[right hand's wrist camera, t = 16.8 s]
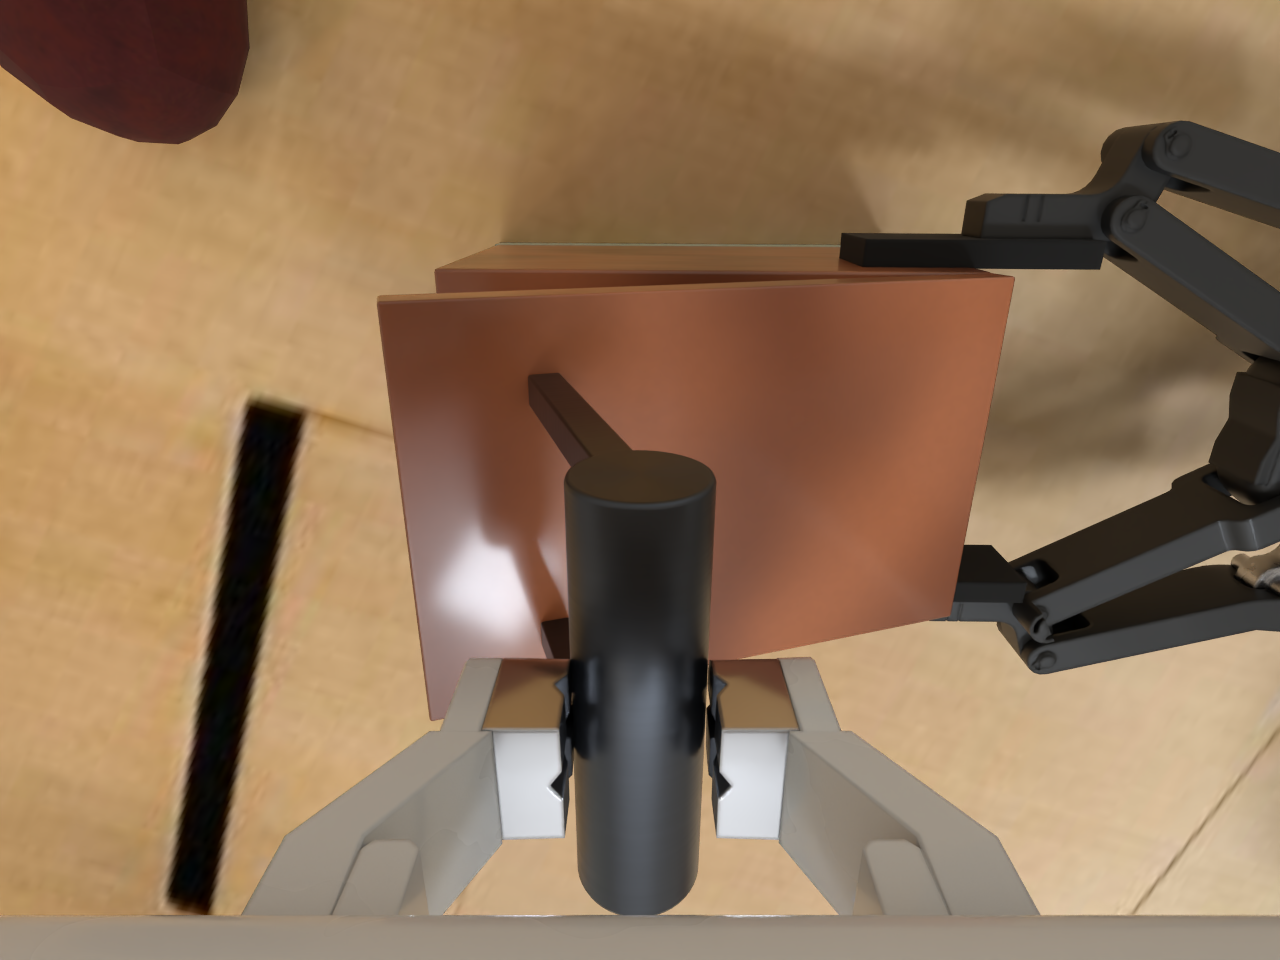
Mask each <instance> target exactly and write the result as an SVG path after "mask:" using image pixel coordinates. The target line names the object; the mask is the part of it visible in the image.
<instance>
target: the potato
mask: <svg viewBox="0 0 1280 960" xmlns="http://www.w3.org/2000/svg"><path fill="white" fill-rule="evenodd" d="M248 51H249V33H248V16H247V0H0V65H1V67H2V68H4V69H5V70H6V71H8V72H9V73H10V74H12V75H13V76H14V77H16V78H17V79H18V80H20V81H21V82H22V83H24V84H25V85H26V86H28V87H29V88H30V89H32V90H33V91H34V92H36V93H37V94H38V95H40V96H41V97H42V98H43V99H45V100H46V101H47V102H49V103H50V104H52V105H53V106H54V107H56V108H57V109H59V110H60V111H62V112H63V113H65V114H66V115H68V116H69V117H70V118H72V119H75V120H78V121H80V122H83V123H85V124H88V125H91V126H93V127H96V128H98V129H101V130H104V131H106V132H109V133H111V134H114V135H117V136H119V137H123V138H127V139H130V140H134V141H137V142H149V143H167V144H180V143H183V142H186V141H189V140H191V139H192V138H194V137H196V136H198V135H200V134H202V133H204V132H205V131H207V130H209V129H211V128H213V127H215V126H216V125H217V124H218V123H219V121H220V120H221V118H222V117H223V115H224V114H225V112H226V111H227V109H228V108H229V106H230V105H231V103H232V102H233V100H234V99H235V97H236V96H237V94H238V91H239V87H240V83H241V79H242V75H243V71H244V67H245V63H246V59H247V55H248Z"/></svg>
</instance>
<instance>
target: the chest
mask: <svg viewBox="0 0 1280 960" xmlns="http://www.w3.org/2000/svg"><path fill="white" fill-rule="evenodd" d="M839 254H840V245H780V244H623V243H498V244H496V245H495V246H494V247H491V248H489V249H486V250H483V251H481V252H478V253H476V254H473V255H471V256H468V257H466V258H463V259H460V260H458V261H455V262H453V263H450V264H448V265H445V266H442V267H440V268H437V269H435V272H434V273H435V283H436V293H463V292H491V291H518V290H545V289H572V288H599V287H626V286H653V285H680V284H707V283H734V282H761V281H788V280H816V279H843V278H870V277H897V276H924V275H951V274H978V273H990V272H987V271H983V270H979V269H975V268H903V267H861V266H858V265H856V264H853V263H850V262H848V261H845V260H843V259H840V258H839Z"/></svg>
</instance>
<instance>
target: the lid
mask: <svg viewBox="0 0 1280 960" xmlns="http://www.w3.org/2000/svg"><path fill="white" fill-rule="evenodd" d="M1014 281H1015V278H1014V277H1013V276H1006V275H999V274H993V273H978V274H951V275H924V276H897V277H870V278H843V279H816V280H788V281H761V282H734V283H707V284H680V285H653V286H626V287H599V288H572V289H545V290H518V291H491V292H463V293H436V294H409V295H382V296H378V297H377V309H378V317H379V325H380V333H381V340H382V348H383V356H384V364H385V372H386V380H387V387H388V395H389V403H390V411H391V419H392V427H393V435H394V442H395V450H396V458H397V466H398V474H399V482H400V489H401V497H402V505H403V513H404V521H405V529H406V536H407V544H408V552H409V560H410V568H411V576H412V583H413V591H414V599H415V607H416V615H417V623H418V631H419V638H420V646H421V654H422V662H423V670H424V678H425V685H426V693H427V701H428V709H429V717H430V720H431V721H435V720H440V719H444V718H445V716H446V713H447V710H448V708H449V705H450V702H451V700H452V697H453V694H454V692H455V689H456V686H457V684H458V681H459V678H460V675H461V673H462V670H463V667H464V665H465V663H466V662H467V661H468V660H469V659H470V658H503V659H504V658H546V659H571V671H572V699H571V705H572V713H573V719H574V776H575V803H576V831H577V858H578V872H579V877H580V880H581V882H582V885H583V886H584V888H585V890H586V891H587V893H588V894H589V895H590V897H591V898H592V899H593V900H594V901H595V902H596V903H598V904H599V905H600V906H602V907H603V908H605V909H606V910H608V911H610V912H613V913H615V914H618V915H658V914H661V913H664V912H666V911H668V910H670V909H672V908H673V907H674V906H676V905H677V904H679V903H680V902H681V901H682V900H683V899H684V898H685V897H686V895H687V894H688V893H689V891H690V890H691V888H692V887H693V885H694V882H695V880H696V877H697V872H698V860H699V839H700V818H701V797H702V776H703V755H704V735H705V714H706V693H707V672H708V665H709V660H736V659H741V658H746V657H751V656H756V655H761V654H765V653H770V652H775V651H780V650H785V649H790V648H795V647H800V646H805V645H810V644H815V643H820V642H825V641H830V640H835V639H839V638H844V637H849V636H854V635H859V634H864V633H869V632H874V631H879V630H884V629H889V628H894V627H899V626H904V625H909V624H914V623H918V622H923V621H928V620H933V619H938V618H943V617H948V616H950V615H951V610H952V604H953V599H954V594H955V589H956V584H957V578H958V573H959V568H960V563H961V558H962V552H963V547H964V542H965V537H966V531H967V526H968V521H969V516H970V511H971V505H972V500H973V495H974V490H975V484H976V479H977V474H978V469H979V464H980V458H981V453H982V448H983V443H984V437H985V432H986V427H987V422H988V417H989V411H990V406H991V401H992V396H993V390H994V385H995V380H996V375H997V370H998V364H999V359H1000V354H1001V349H1002V343H1003V338H1004V333H1005V328H1006V323H1007V317H1008V312H1009V307H1010V302H1011V296H1012V291H1013V286H1014Z"/></svg>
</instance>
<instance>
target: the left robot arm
mask: <svg viewBox="0 0 1280 960" xmlns="http://www.w3.org/2000/svg"><path fill="white" fill-rule="evenodd" d="M1101 161H1102V164H1101V166H1100V168H1099V170H1098V171H1097V173H1096V175H1095V176H1094V178H1093V179H1092V181H1091V182H1090V183H1089V184H1088V185H1087V186H1086V187H1084V188H1083V189H1081V190H1079V191H1077V192H1074V193H1070V194H983V195H980V196H978V197H975V198H973V199H970V200H967V202H966V208H965V215H964V221H963V227H962V233H961V234H893V233H842V235H841V245H840V254H839V258H840V259H843V260H845V261H848V262H850V263H853V264H856V265H858V266H861V267H903V268H975V269H1097V270H1100V267H1101V263H1102V259H1103V257H1105V258H1106V259H1107V260H1109V261H1110V262H1112V263H1113V264H1115V265H1116V266H1118V267H1119V268H1120V269H1122V270H1123V271H1125V272H1126V273H1128V274H1129V275H1131V276H1132V277H1134V278H1135V279H1136V280H1138V281H1139V282H1141V283H1142V284H1144V285H1145V286H1147V287H1148V288H1149V289H1151V290H1152V291H1154V292H1155V293H1157V294H1158V295H1160V296H1161V297H1162V298H1164V299H1165V300H1167V301H1168V302H1170V303H1171V304H1173V305H1174V306H1175V307H1177V308H1178V309H1180V310H1181V311H1183V312H1184V313H1186V314H1187V315H1189V316H1190V317H1191V318H1193V319H1194V320H1196V321H1197V322H1199V323H1200V324H1202V325H1203V326H1204V327H1206V328H1207V329H1209V330H1210V331H1212V332H1213V333H1215V334H1216V335H1217V337H1216V339H1217V340H1218V341H1219V342H1221V343H1222V344H1224V345H1225V346H1227V347H1228V348H1229V349H1231V350H1232V351H1234V352H1235V353H1237V354H1238V355H1240V356H1241V357H1243V358H1244V359H1245V360H1247V361H1248V362H1250V363H1251V364H1252V365H1251V366H1250V367H1249V369H1248V370H1247V372H1237V374H1236V377H1235V380H1234V383H1233V386H1232V389H1231V393H1230V401H1229V418H1228V421H1227V422H1226V424H1225V426H1224V427H1223V429H1222V431H1221V432H1220V434H1219V435H1218V437H1217V439H1216V440H1215V443H1214V446H1213V449H1212V453H1211V456H1210V459H1209V463H1210V464H1208V465H1205V466H1203V467H1201V468H1199V469H1196V470H1194V471H1192V472H1190V473H1187V474H1185V475H1183V476H1181V477H1179V478H1177V479H1175V480H1174V481H1173V482H1172V489H1171V490H1170V491H1168V492H1166V493H1164V494H1162V495H1160V496H1157V497H1155V498H1153V499H1151V500H1148V501H1146V502H1144V503H1142V504H1139V505H1137V506H1135V507H1133V508H1130V509H1128V510H1126V511H1124V512H1121V513H1119V514H1117V515H1115V516H1112V517H1110V518H1108V519H1106V520H1103V521H1101V522H1099V523H1096V524H1094V525H1092V526H1090V527H1087V528H1085V529H1083V530H1081V531H1078V532H1076V533H1074V534H1072V535H1069V536H1067V537H1065V538H1063V539H1060V540H1058V541H1056V542H1054V543H1051V544H1049V545H1047V546H1045V547H1042V548H1040V549H1038V550H1035V551H1033V552H1031V553H1029V554H1026V555H1024V556H1022V557H1020V558H1017V559H1015V560H1013V561H1011V562H1007V561H1006V560H1005V559H1004V558H1003V557H1002V556H1001V555H1000V554H999V553H998V552H997V551H996V550H995V549H994V547H993V546H992V545H964V547H963V552H962V558H961V563H960V568H959V573H958V578H957V584H956V589H955V594H954V599H953V604H952V610H951V615H950V616H948V617H943V618H938V619H933V620H929V621H945V620H947V621H958V620H959V621H982V622H997V627H998V629H999V631H1000V632H1001V633H1002V635H1003V636H1004V637H1005V638H1006V640H1007V641H1008V642H1009V644H1010V645H1011V646H1012V647H1013V649H1014V650H1015V651H1016V652H1017V654H1018V655H1019V656H1020V658H1021V659H1022V660H1023V661H1024V663H1025V664H1026V665H1027V666H1028V668H1029V669H1030V670H1031V671H1032V672H1034V673H1037V674H1049V673H1054V672H1058V671H1063V670H1068V669H1073V668H1077V667H1082V666H1087V665H1092V664H1096V663H1101V662H1106V661H1111V660H1116V659H1120V658H1125V657H1130V656H1135V655H1139V654H1144V653H1149V652H1154V651H1158V650H1163V649H1168V648H1173V647H1177V646H1182V645H1187V644H1192V643H1196V642H1201V641H1206V640H1211V639H1215V638H1220V637H1225V636H1230V635H1234V634H1239V633H1244V632H1249V631H1254V630H1265V631H1279V632H1280V544H1279V546H1278V547H1277V548H1276V549H1274V550H1273V551H1271V552H1270V553H1267V554H1264V555H1258V556H1253V557H1249V556H1247V555H1245V554H1238V555H1236V556H1235V557H1233V559H1232V560H1231V565H1208V566H1201V567H1195V568H1190V569H1186V568H1188V567H1191V566H1193V565H1195V564H1198V563H1200V562H1202V561H1205V560H1207V559H1210V558H1212V557H1214V556H1217V555H1219V554H1222V553H1224V552H1226V551H1230V550H1239V551H1256V550H1260V549H1263V548H1265V547H1268V546H1270V545H1272V544H1275V543H1277V542H1280V292H1279V291H1278V290H1276V289H1275V288H1273V287H1272V286H1271V285H1269V284H1268V283H1266V282H1265V281H1264V280H1262V279H1261V278H1259V277H1258V276H1257V275H1255V274H1254V273H1253V272H1251V271H1250V270H1248V269H1247V268H1246V267H1244V266H1243V265H1241V264H1240V263H1239V262H1237V261H1236V260H1234V259H1233V258H1232V257H1230V256H1229V255H1228V254H1226V253H1225V252H1223V251H1222V250H1221V249H1219V248H1218V247H1216V246H1215V245H1214V244H1212V243H1211V242H1209V241H1208V240H1207V239H1205V238H1204V237H1203V236H1201V235H1200V234H1198V233H1197V232H1196V231H1194V230H1193V229H1191V228H1190V227H1189V226H1187V225H1186V224H1184V223H1183V222H1182V221H1180V220H1179V219H1178V218H1176V217H1175V216H1173V215H1172V214H1171V213H1169V212H1168V211H1166V210H1165V209H1164V208H1162V207H1161V206H1159V205H1158V204H1157V203H1156V201H1157V200H1158V198H1159V196H1160V195H1161V193H1162V191H1163V190H1167V191H1170V192H1173V193H1176V194H1179V195H1182V196H1184V197H1187V198H1190V199H1193V200H1196V201H1199V202H1202V203H1205V204H1208V205H1211V206H1214V207H1217V208H1220V209H1223V210H1226V211H1229V212H1232V213H1235V214H1238V215H1241V216H1244V217H1247V218H1250V219H1253V220H1256V221H1259V222H1262V223H1265V224H1268V225H1270V226H1273V227H1276V228H1279V229H1280V153H1279V152H1276V151H1273V150H1270V149H1267V148H1265V147H1262V146H1259V145H1256V144H1253V143H1250V142H1247V141H1244V140H1242V139H1239V138H1236V137H1233V136H1230V135H1227V134H1224V133H1221V132H1219V131H1216V130H1213V129H1210V128H1207V127H1204V126H1201V125H1198V124H1196V123H1193V122H1190V121H1174V122H1166V123H1158V124H1150V125H1142V126H1134V127H1125V128H1122V129H1119V130H1116V131H1115V132H1113V133H1112V134H1111V135H1110V136H1109V137H1108V138H1107V139H1106V141H1105V142H1104V144H1103V147H1102V150H1101ZM1232 495H1233V496H1234V497H1235V498H1236V499H1237V500H1238V501H1237V500H1235V499H1233V498H1231V497H1229V496H1232ZM1239 501H1240V502H1239ZM1183 569H1185V570H1183Z"/></svg>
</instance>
